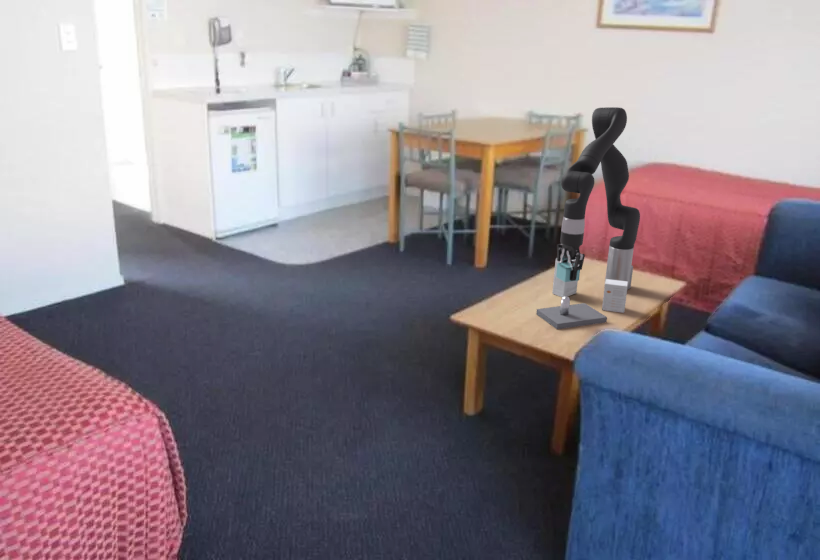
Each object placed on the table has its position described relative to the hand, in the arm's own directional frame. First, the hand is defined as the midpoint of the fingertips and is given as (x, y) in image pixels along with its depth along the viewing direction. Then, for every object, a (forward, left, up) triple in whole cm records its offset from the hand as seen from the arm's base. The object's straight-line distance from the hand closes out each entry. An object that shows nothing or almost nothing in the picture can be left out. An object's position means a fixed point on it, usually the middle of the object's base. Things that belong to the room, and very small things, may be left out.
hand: (567, 277), depth 237 cm
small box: (-23, -3, -16) cm, 28 cm away
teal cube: (0, 0, 0) cm, 0 cm away
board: (-3, 0, -16) cm, 16 cm away
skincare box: (-14, -22, -16) cm, 31 cm away
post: (0, 0, -14) cm, 14 cm away
